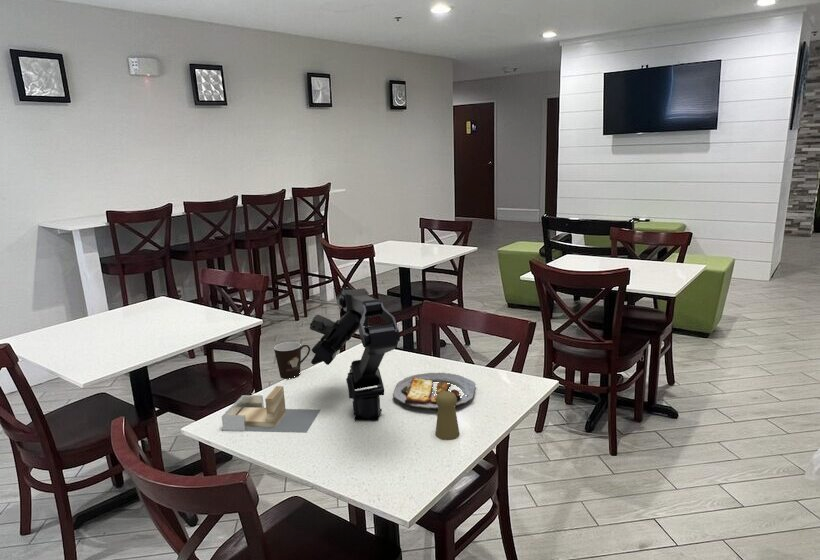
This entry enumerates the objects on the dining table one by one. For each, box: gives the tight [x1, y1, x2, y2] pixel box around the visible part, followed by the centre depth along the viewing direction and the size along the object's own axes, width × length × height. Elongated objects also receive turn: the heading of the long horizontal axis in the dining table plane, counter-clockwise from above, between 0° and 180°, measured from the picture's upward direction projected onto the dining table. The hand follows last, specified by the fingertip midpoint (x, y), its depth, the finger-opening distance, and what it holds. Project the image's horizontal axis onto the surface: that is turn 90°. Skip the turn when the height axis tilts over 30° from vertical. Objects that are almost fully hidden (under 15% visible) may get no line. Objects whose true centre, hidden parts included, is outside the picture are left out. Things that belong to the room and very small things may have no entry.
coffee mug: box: [273, 341, 311, 380], centre depth 180 cm, size 12×9×10 cm
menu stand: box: [238, 385, 287, 427], centre depth 149 cm, size 12×8×8 cm, turn 83°
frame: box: [221, 394, 265, 432], centre depth 150 cm, size 6×13×4 cm, turn 173°
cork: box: [434, 391, 460, 441], centre depth 137 cm, size 6×6×11 cm
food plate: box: [392, 372, 477, 410], centre depth 161 cm, size 25×23×4 cm
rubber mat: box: [221, 408, 321, 434], centre depth 149 cm, size 23×13×1 cm, turn 83°
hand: (312, 363), depth 158 cm, fingers closed
